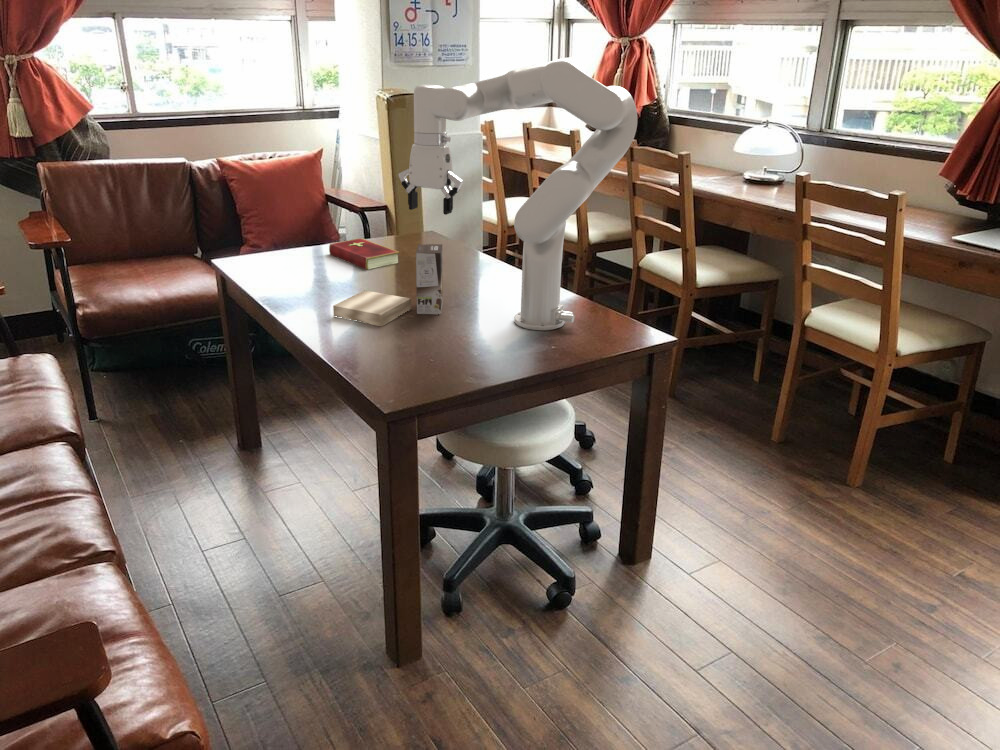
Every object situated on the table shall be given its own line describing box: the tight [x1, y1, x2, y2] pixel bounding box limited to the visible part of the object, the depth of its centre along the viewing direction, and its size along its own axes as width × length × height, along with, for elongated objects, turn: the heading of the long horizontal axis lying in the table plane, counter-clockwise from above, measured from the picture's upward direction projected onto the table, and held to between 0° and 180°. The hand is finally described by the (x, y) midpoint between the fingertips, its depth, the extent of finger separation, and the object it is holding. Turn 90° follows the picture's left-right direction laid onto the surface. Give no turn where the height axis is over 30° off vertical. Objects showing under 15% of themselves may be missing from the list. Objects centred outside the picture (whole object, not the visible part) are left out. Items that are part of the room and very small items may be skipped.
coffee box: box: [415, 243, 444, 315], centre depth 207 cm, size 9×6×16 cm
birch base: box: [332, 290, 412, 327], centre depth 206 cm, size 14×14×3 cm
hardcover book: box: [328, 237, 401, 271], centre depth 251 cm, size 12×21×4 cm, turn 42°
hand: (430, 211), depth 200 cm, fingers open, 9 cm apart
